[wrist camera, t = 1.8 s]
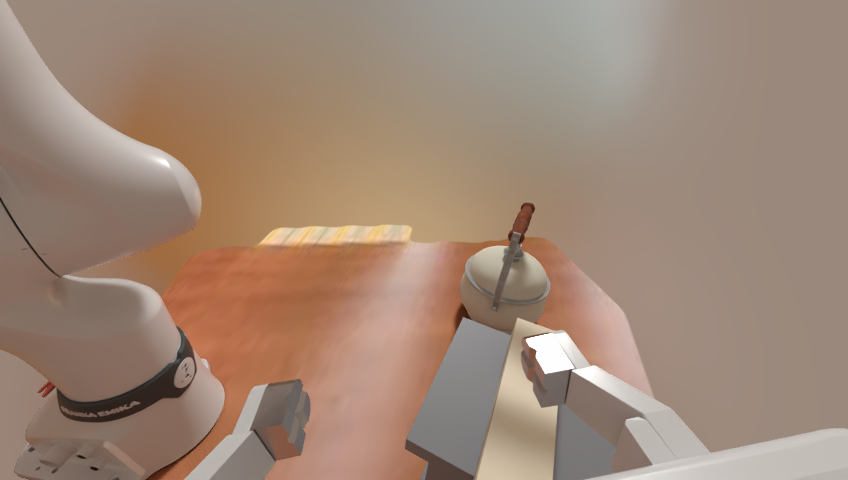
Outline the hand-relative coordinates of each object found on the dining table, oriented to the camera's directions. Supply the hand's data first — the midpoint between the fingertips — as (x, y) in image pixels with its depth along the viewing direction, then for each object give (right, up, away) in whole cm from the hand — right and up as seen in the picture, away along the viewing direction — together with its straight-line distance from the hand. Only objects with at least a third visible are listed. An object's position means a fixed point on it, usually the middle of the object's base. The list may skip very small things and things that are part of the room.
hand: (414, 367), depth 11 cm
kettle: (+18, -11, +59) cm, 63 cm away
